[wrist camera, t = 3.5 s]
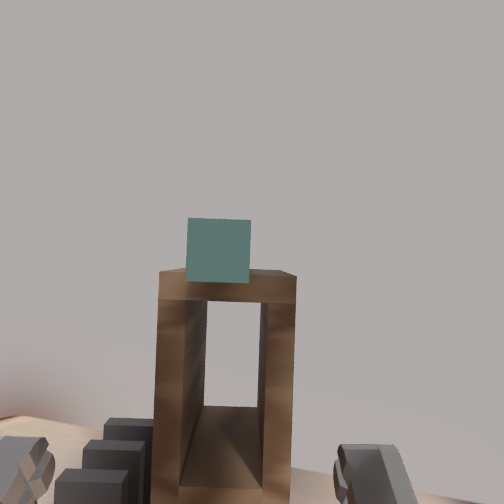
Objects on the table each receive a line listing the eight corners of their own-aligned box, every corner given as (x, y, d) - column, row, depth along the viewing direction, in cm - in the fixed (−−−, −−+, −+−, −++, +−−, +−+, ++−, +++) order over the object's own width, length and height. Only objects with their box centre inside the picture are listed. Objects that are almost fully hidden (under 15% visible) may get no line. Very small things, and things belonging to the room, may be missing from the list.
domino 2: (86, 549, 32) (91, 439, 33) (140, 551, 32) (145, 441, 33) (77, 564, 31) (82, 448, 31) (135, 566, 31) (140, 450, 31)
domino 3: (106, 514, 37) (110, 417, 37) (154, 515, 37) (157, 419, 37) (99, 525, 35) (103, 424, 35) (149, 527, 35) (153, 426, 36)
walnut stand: (271, 504, 39) (279, 270, 40) (284, 639, 25) (296, 276, 26) (181, 501, 39) (190, 267, 40) (144, 636, 25) (159, 271, 26)
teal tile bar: (248, 269, 38) (249, 241, 38) (248, 283, 17) (250, 220, 17) (220, 268, 38) (221, 240, 38) (185, 281, 17) (188, 217, 17)
